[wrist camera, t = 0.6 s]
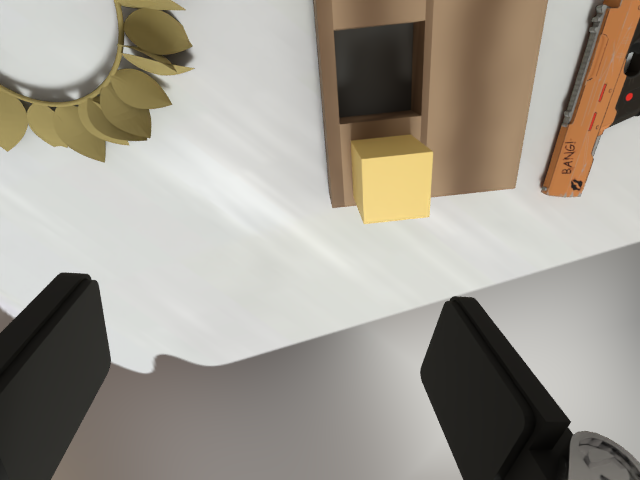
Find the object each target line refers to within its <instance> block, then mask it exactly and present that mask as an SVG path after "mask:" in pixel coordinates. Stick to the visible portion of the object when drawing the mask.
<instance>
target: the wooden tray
mask: <svg viewBox="0 0 640 480" xmlns="http://www.w3.org/2000/svg"><path fill="white" fill-rule="evenodd" d="M547 3H548V0H313V4H314V16H315V28H316V40H317V52H318V64H319V76H320V88H321V100H322V112H323V124H324V136H325V148H326V160H327V172H328V184H329V195H330V199H331V204H332V208H338V207H347V206H356V202H355V200H354V197H353V177H352V157H351V141H353V140H363V139H372V138H382V137H391V136H400V135H410V134H411V135H412V136H413V137H415V138H416V139H417V140H419V141H420V142H421V143H423V144H424V145H425V146H426V147H428V148H429V149H430V150H432V151H433V164H432V181H431V197H439V196H449V195H458V194H467V193H476V192H486V191H495V190H504V189H513V188H515V186H516V180H517V175H518V169H519V163H520V158H521V152H522V146H523V140H524V135H525V129H526V123H527V117H528V112H529V106H530V100H531V95H532V89H533V83H534V77H535V72H536V66H537V60H538V55H539V49H540V43H541V37H542V32H543V26H544V20H545V14H546V9H547Z"/></svg>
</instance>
